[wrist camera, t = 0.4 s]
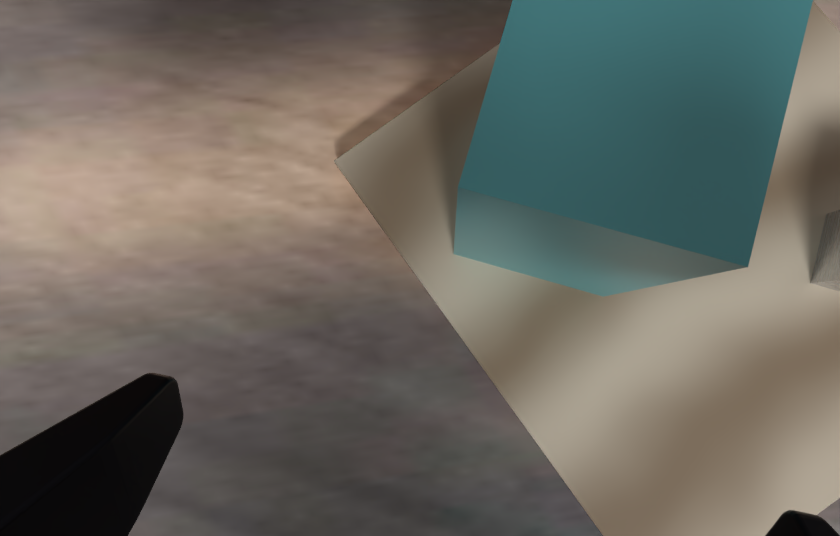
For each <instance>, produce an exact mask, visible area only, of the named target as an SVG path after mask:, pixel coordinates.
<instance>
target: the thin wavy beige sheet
mask: <svg viewBox="0 0 840 536" xmlns="http://www.w3.org/2000/svg"><path fill="white" fill-rule="evenodd" d="M499 45H500V43H499V44H498V45H497V46H495V47H494V48H492V49H491V50H489V51H488V52H487V53H485V54H484V55H482V56H481V57H480V58H478V59H477V60H475V61H474V62H473V63H471V64H470V65H468V66H467V67H466V68H464V69H463V70H461V71H460V72H458V73H457V74H456V75H454V76H453V77H451V78H450V79H449V80H447V81H446V82H444V83H443V84H442V85H440V86H439V87H437V88H436V89H435V90H433V91H432V92H430V93H429V94H427V95H426V96H425V97H423V98H422V99H420V100H419V101H418V102H416V103H415V104H413V105H412V106H411V107H409V108H408V109H406V110H405V111H404V112H402V113H401V114H399V115H398V116H397V117H395V118H394V119H392V120H391V121H389V122H388V123H387V124H385V125H384V126H382V127H381V128H380V129H378V130H377V131H375V132H374V133H373V134H371V135H370V136H368V137H367V138H366V139H364V140H363V141H361V142H360V143H358V144H357V145H356V146H354V147H353V148H351V149H350V150H349V151H347V152H346V153H344V154H343V155H342V156H340V157H339V158H337V159H336V160H335V161H334V162H335V163H336V165H337V166H338V168H339V169H340V170H341V172H342V173H343V175H344V176H345V177H346V179H347V180H348V182H349V183H350V184H351V186H352V187H353V189H354V190H355V191H356V193H357V194H358V195H359V197H360V198H361V200H362V201H363V202H364V204H365V205H366V207H367V208H368V209H369V211H370V212H371V214H372V215H373V216H374V218H375V219H376V221H377V222H378V223H379V225H380V226H381V227H382V229H383V230H384V232H385V233H386V234H387V236H388V237H389V239H390V240H391V241H392V243H393V244H394V246H395V247H396V248H397V250H398V251H399V253H400V254H401V255H402V257H403V258H404V259H405V261H406V262H407V264H408V265H409V266H410V268H411V269H412V271H413V272H414V273H415V275H416V276H417V278H418V279H419V280H420V282H421V283H422V284H423V286H424V287H425V289H426V290H427V291H428V293H429V294H430V296H431V297H432V298H433V300H434V301H435V303H436V304H437V305H438V307H439V308H440V310H441V311H442V312H443V314H444V315H445V316H446V318H447V319H448V321H449V322H450V323H451V325H452V326H453V328H454V329H455V330H456V332H457V333H458V335H459V336H460V337H461V339H462V340H463V342H464V343H465V344H466V346H467V347H468V348H469V350H470V351H471V353H472V354H473V355H474V357H475V358H476V360H477V361H478V362H479V364H480V365H481V367H482V368H483V369H484V371H485V372H486V374H487V375H488V376H489V378H490V379H491V380H492V382H493V383H494V385H495V386H496V387H497V389H498V390H499V392H500V393H501V394H502V396H503V397H504V399H505V400H506V401H507V403H508V404H509V406H510V407H511V408H512V410H513V411H514V412H515V414H516V415H517V417H518V418H519V419H520V421H521V422H522V424H523V425H524V426H525V428H526V429H527V431H528V432H529V433H530V435H531V436H532V438H533V439H534V440H535V442H536V443H537V444H538V446H539V447H540V449H541V450H542V451H543V453H544V454H545V456H546V457H547V458H548V460H549V461H550V463H551V464H552V465H553V467H554V468H555V469H556V471H557V472H558V474H559V475H560V476H561V478H562V479H563V481H564V482H565V483H566V485H567V486H568V488H569V489H570V490H571V492H572V493H573V495H574V496H575V497H576V499H577V500H578V501H579V503H580V504H581V506H582V507H583V508H584V510H585V511H586V513H587V514H588V515H589V517H590V518H591V520H592V521H593V522H594V524H595V525H596V527H597V528H598V529H599V531H600V532H601V533H602V535H603V536H765V535H766V534H767V533H768V531H769V530H770V529H771V528H772V526H773V525H774V524H775V522H776V521H777V520H778V518H779V517H780V516H781V515H782V514H783V513H784V512H785V511H788V510H795V511H800V512H805V513H809V514H814V515H817V514H818V513H820V512H821V511H822V510H824V509H825V508H827V507H828V506H829V505H831V504H832V503H833V502H835V501H836V500H837V499H839V498H840V291H837V290H833V289H829V288H826V287H822V286H818V285H815V284H811V283H810V282H811V278H812V274H813V270H814V265H815V261H816V257H817V252H818V248H819V244H820V239H821V235H822V231H823V227H824V222H825V218H826V214H827V213H831V212H834V211H837V210H840V31H839V30H838V29H837V28H836V26H835V25H834V24H833V23H832V22H831V21H830V20H829V18H828V17H827V16H826V15H825V14H824V13H823V12H822V10H821V9H820V8H819V7H818V6H817V5H816V4H815V2H814V1H813V2H812V6H811V10H810V15H809V19H808V23H807V27H806V31H805V35H804V39H803V43H802V47H801V52H800V56H799V60H798V64H797V68H796V72H795V76H794V80H793V84H792V89H791V93H790V97H789V101H788V105H787V109H786V113H785V117H784V121H783V126H782V130H781V134H780V138H779V142H778V146H777V150H776V154H775V158H774V163H773V167H772V171H771V175H770V179H769V183H768V187H767V191H766V195H765V200H764V204H763V208H762V212H761V216H760V220H759V224H758V228H757V232H756V237H755V241H754V245H753V249H752V253H751V257H750V261H749V265H748V267H746V268H741V269H736V270H731V271H726V272H721V273H716V274H712V275H707V276H702V277H697V278H692V279H687V280H682V281H677V282H673V283H668V284H663V285H658V286H653V287H648V288H643V289H638V290H633V291H629V292H624V293H619V294H614V295H609V296H604V297H603V296H599V295H596V294H592V293H589V292H585V291H582V290H578V289H575V288H571V287H568V286H564V285H561V284H557V283H554V282H550V281H546V280H543V279H539V278H536V277H532V276H529V275H525V274H522V273H518V272H515V271H511V270H508V269H504V268H501V267H497V266H494V265H490V264H487V263H483V262H480V261H476V260H473V259H469V258H466V257H462V256H459V255H455V254H453V253H454V238H455V223H456V208H457V193H458V185H459V182H460V178H461V175H462V171H463V168H464V165H465V161H466V158H467V154H468V151H469V147H470V144H471V141H472V137H473V134H474V130H475V127H476V124H477V120H478V117H479V113H480V110H481V107H482V103H483V100H484V96H485V93H486V90H487V86H488V83H489V79H490V76H491V72H492V69H493V66H494V62H495V59H496V55H497V52H498V49H499Z"/></svg>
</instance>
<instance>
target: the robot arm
mask: <svg viewBox="0 0 840 536" xmlns="http://www.w3.org/2000/svg"><path fill="white" fill-rule="evenodd" d="M182 422H183V408H182V403H181V398H180V393H179V388H178V383H177V381H176V380H175V379H174V378H173V377H170V376H166V375H161V374H156V373H148V374H145V375H143V376H141V377H139V378H137V379H135V380H134V381H132V382H130V383H128V384H126V385H125V386H123V387H121V388H119V389H118V390H116V391H114V392H112V393H110V394H109V395H107V396H105V397H103V398H101V399H100V400H98V401H96V402H94V403H93V404H91V405H89V406H87V407H85V408H84V409H82V410H80V411H78V412H77V413H75V414H73V415H71V416H69V417H68V418H66V419H64V420H62V421H61V422H59V423H57V424H55V425H53V426H52V427H50V428H48V429H46V430H44V431H43V432H41V433H39V434H37V435H36V436H34V437H32V438H30V439H28V440H27V441H25V442H23V443H21V444H20V445H18V446H16V447H14V448H12V449H11V450H9V451H7V452H5V453H4V454H2V455H0V536H128V534H129V532H130V531H131V529H132V527H133V525H134V524H135V522H136V520H137V518H138V516H139V514H140V512H141V510H142V508H143V506H144V504H145V502H146V500H147V498H148V496H149V494H150V492H151V490H152V487H153V485H154V483H155V481H156V479H157V477H158V475H159V473H160V471H161V468H162V466H163V464H164V462H165V460H166V458H167V456H168V454H169V452H170V449H171V447H172V445H173V443H174V441H175V439H176V437H177V435H178V432H179V430H180V428H181V425H182ZM765 536H840V535H839V534H838V533H837V532H836V531H835V530H834V529H833V528H832V527H831V526H830V525H829V524H828V523H827V522H826V521H825V520H824V519H823V518H821V517H819V516H817V515H814V514H809V513H805V512H800V511H795V510H788V511H785V512H784V513H783V514H782V515H781V516H780V517H779V518H778V520H777V521H776V522H775V524H774V525H773V526H772V528H771V529H770V530H769V531H768V533H767V534H766V535H765Z"/></svg>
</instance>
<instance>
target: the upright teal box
mask: <svg viewBox="0 0 840 536" xmlns="http://www.w3.org/2000/svg"><path fill="white" fill-rule="evenodd" d="M812 2H813V0H513V1H512V4H511V8H510V11H509V14H508V18H507V21H506V25H505V28H504V32H503V35H502V38H501V42H500V45H499V49H498V52H497V55H496V59H495V62H494V66H493V69H492V72H491V76H490V79H489V83H488V86H487V90H486V93H485V96H484V100H483V103H482V107H481V110H480V113H479V117H478V120H477V124H476V127H475V130H474V134H473V137H472V141H471V144H470V147H469V151H468V154H467V158H466V161H465V165H464V168H463V171H462V175H461V178H460V182H459V185H458V193H457V208H456V223H455V238H454V253H453V254H455V255H459V256H462V257H466V258H469V259H473V260H476V261H480V262H483V263H487V264H490V265H494V266H497V267H501V268H504V269H508V270H511V271H515V272H518V273H522V274H525V275H529V276H532V277H536V278H539V279H543V280H546V281H550V282H554V283H557V284H561V285H564V286H568V287H571V288H575V289H578V290H582V291H585V292H589V293H592V294H596V295H599V296H603V297H604V296H609V295H614V294H619V293H624V292H629V291H633V290H638V289H643V288H648V287H653V286H658V285H663V284H668V283H673V282H677V281H682V280H687V279H692V278H697V277H702V276H707V275H712V274H716V273H721V272H726V271H731V270H736V269H741V268H746V267H748V265H749V261H750V257H751V253H752V249H753V245H754V241H755V237H756V232H757V228H758V224H759V220H760V216H761V212H762V208H763V204H764V200H765V195H766V191H767V187H768V183H769V179H770V175H771V171H772V167H773V163H774V158H775V154H776V150H777V146H778V142H779V138H780V134H781V130H782V126H783V121H784V117H785V113H786V109H787V105H788V101H789V97H790V93H791V89H792V84H793V80H794V76H795V72H796V68H797V64H798V60H799V56H800V52H801V47H802V43H803V39H804V35H805V31H806V27H807V23H808V19H809V15H810V10H811V6H812Z"/></svg>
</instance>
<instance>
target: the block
mask: <svg viewBox="0 0 840 536" xmlns="http://www.w3.org/2000/svg"><path fill="white" fill-rule="evenodd" d="M810 283H811V284H815V285H818V286H822V287H826V288H829V289H833V290H837V291H840V210H837V211H834V212H831V213H827V214H826V218H825V222H824V227H823V231H822V235H821V239H820V244H819V248H818V252H817V257H816V261H815V265H814V270H813V274H812V278H811V282H810Z"/></svg>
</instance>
